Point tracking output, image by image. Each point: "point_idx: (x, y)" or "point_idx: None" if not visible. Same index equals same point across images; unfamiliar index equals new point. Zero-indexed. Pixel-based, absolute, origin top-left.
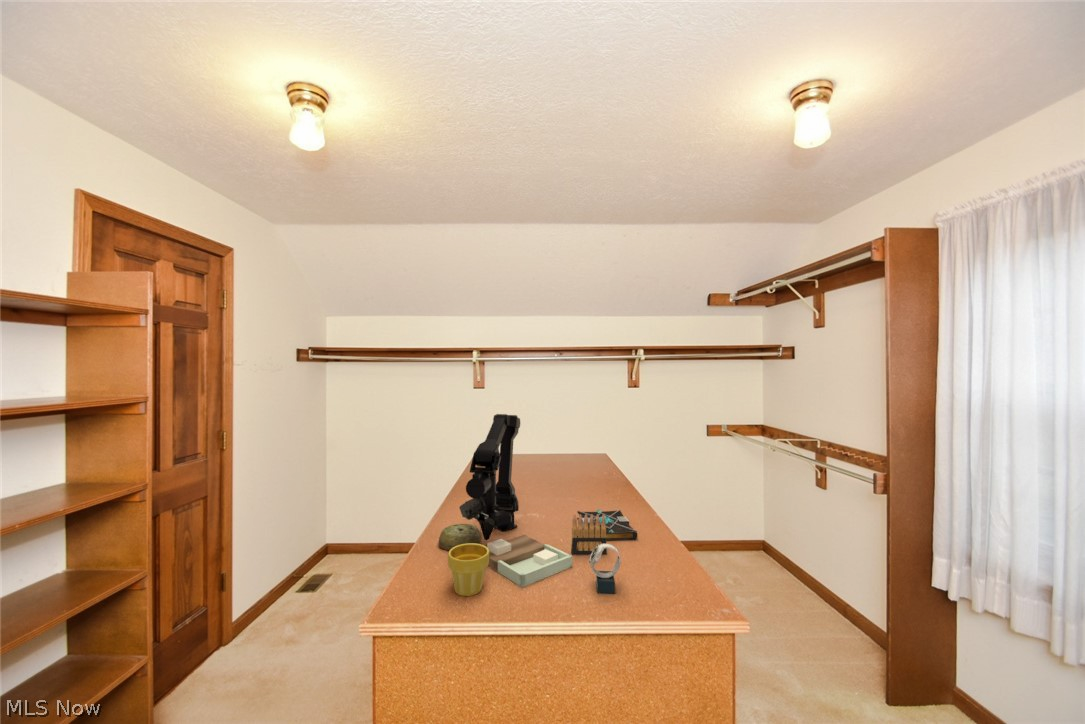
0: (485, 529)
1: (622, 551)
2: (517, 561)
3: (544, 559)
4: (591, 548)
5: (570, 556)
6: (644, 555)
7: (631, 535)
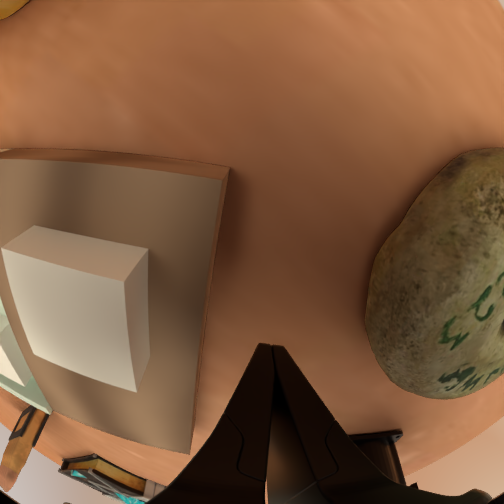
0: (222, 431)
1: None
2: None
3: None
4: (22, 419)
5: None
6: (9, 418)
7: (69, 466)
